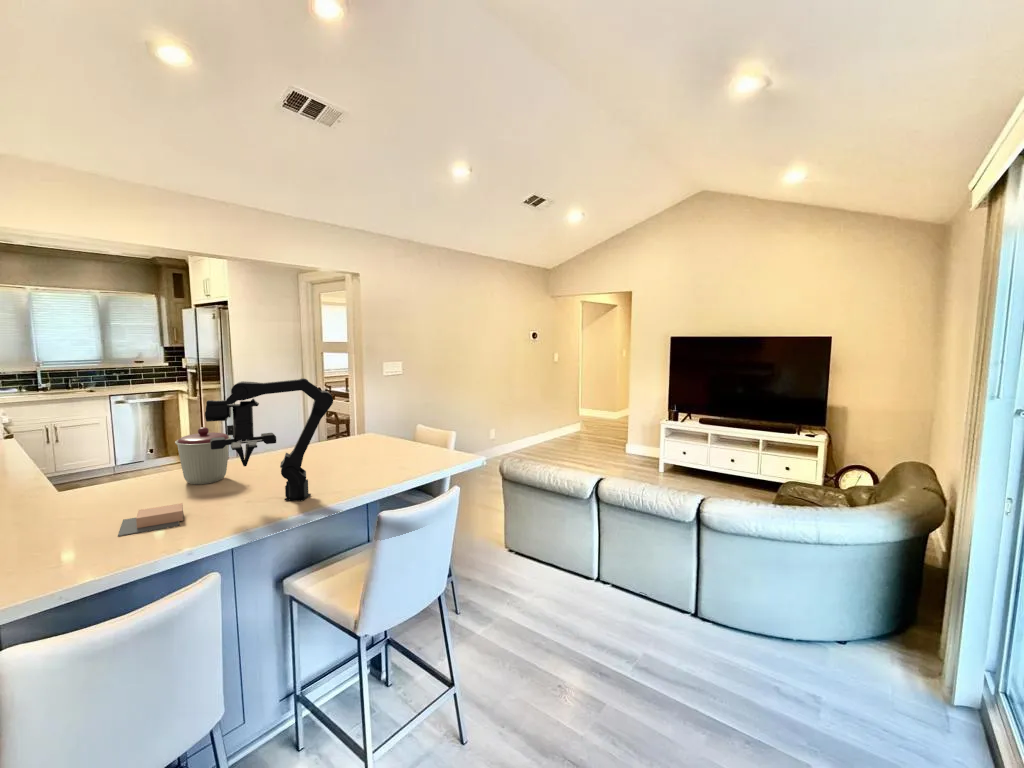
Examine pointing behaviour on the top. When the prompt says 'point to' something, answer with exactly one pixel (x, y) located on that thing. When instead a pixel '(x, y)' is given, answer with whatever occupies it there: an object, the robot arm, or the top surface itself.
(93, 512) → the top surface
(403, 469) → the top surface
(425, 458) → the top surface
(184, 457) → the canister
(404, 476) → the top surface
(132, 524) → the mat
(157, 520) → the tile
